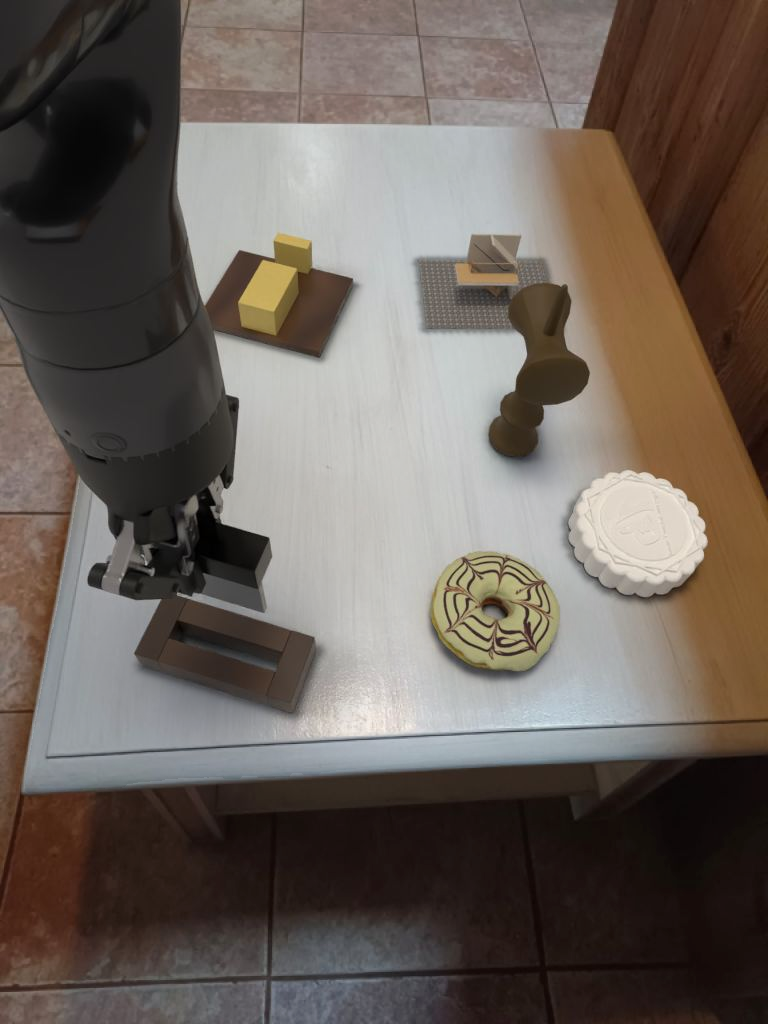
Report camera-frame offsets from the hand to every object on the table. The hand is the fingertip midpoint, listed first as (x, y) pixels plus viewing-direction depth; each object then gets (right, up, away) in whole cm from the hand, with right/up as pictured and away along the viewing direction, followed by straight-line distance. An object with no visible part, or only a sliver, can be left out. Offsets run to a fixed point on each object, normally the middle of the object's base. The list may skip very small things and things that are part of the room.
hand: (198, 564), depth 46 cm
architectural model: (+24, +29, +39) cm, 54 cm away
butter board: (0, +27, +36) cm, 44 cm away
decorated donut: (+21, -6, +17) cm, 28 cm away
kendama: (+25, +11, +28) cm, 39 cm away
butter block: (-1, +26, +34) cm, 42 cm away
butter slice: (+1, +32, +38) cm, 49 cm away
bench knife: (0, -2, +4) cm, 4 cm away
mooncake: (+35, +1, +22) cm, 41 cm away
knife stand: (-1, -9, +14) cm, 16 cm away
